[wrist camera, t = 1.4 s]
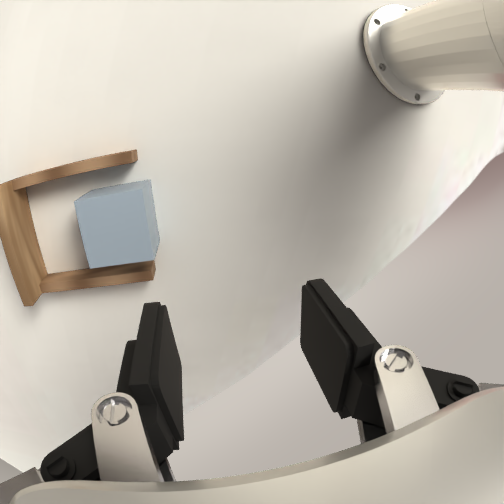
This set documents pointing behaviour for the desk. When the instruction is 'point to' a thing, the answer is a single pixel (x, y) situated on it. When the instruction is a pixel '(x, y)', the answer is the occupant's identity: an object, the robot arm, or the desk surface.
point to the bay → (26, 244)
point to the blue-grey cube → (118, 224)
